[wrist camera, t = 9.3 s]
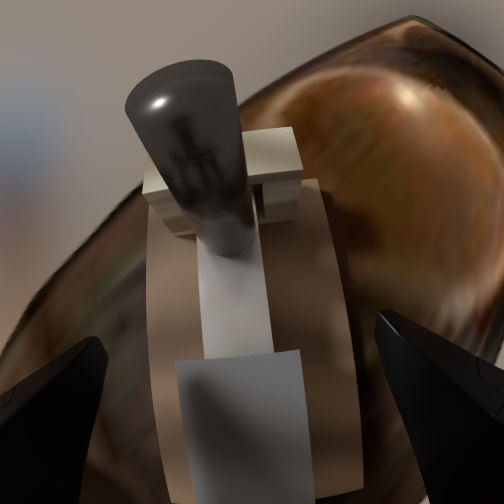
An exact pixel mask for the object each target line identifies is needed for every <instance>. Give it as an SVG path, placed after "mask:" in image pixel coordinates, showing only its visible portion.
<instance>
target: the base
mask: <svg viewBox="0 0 504 504" xmlns="http://www.w3.org/2000/svg"><path fill="white" fill-rule="evenodd" d="M242 137H243V144H244V150H245V157H246V163H247V170H248V176H249V183H250V185H253V192H254V200H255V207H256V215H257V222H258V230H259V237H260V245H261V253H262V261H263V268H264V276H265V284H266V292H267V300H268V308H269V316H270V324H271V332H272V340H273V348H274V353H269V354H261V355H252V356H242V357H231V358H219V359H204V348H203V336H202V324H201V310H200V295H199V278H198V257H197V235H196V234H195V232H194V230H193V229H192V227H191V225H190V224H189V222H188V221H187V219H186V217H185V216H184V214H183V212H182V211H181V209H180V207H179V206H178V204H177V202H176V201H175V199H174V197H173V195H172V194H171V192H170V190H169V189H168V187H167V185H166V184H165V182H164V180H163V178H162V177H161V175H160V173H159V171H158V170H157V168H156V166H155V165H154V163H153V161H152V159H151V158H150V156H149V154H148V152H147V159H146V167H145V175H144V183H143V192H142V194H143V196H144V197H145V198H146V200H147V201H148V202H149V215H148V233H147V262H146V306H147V335H148V352H149V366H150V377H151V388H152V397H153V405H154V413H155V421H156V427H157V434H158V440H159V446H160V452H161V457H162V463H163V468H164V473H165V477H166V482H167V486H168V491H169V495H170V499H171V503H178V504H315V499H319V498H324V497H329V496H334V495H338V494H343V493H347V492H351V491H355V490H359V489H363V488H364V481H363V450H362V433H361V420H360V408H359V397H358V388H357V379H356V371H355V363H354V355H353V348H352V341H351V335H350V328H349V322H348V316H347V310H346V304H345V299H344V293H343V288H342V283H341V278H340V273H339V268H338V263H337V259H336V254H335V249H334V245H333V240H332V236H331V232H330V228H329V223H328V219H327V215H326V211H325V207H324V203H323V200H322V196H321V192H320V188H319V185H318V181H317V179H307V180H302V175H303V167H302V163H301V159H300V156H299V152H298V148H297V145H296V141H295V138H294V134H293V131H292V127H284V128H273V129H264V130H256V131H248V132H242Z"/></svg>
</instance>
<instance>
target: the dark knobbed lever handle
mask: <svg viewBox="0 0 504 504" xmlns="http://www.w3.org/2000/svg"><path fill="white" fill-rule="evenodd" d="M125 111H126V114H127V116H128V118H129V120H130V122H131V123H132V125H133V127H134V129H135V131H136V133H137V134H138V136H139V138H140V140H141V142H142V143H143V145H144V147H145V149H146V150H147V152H148V154H149V156H150V158H151V159H152V161H153V163H154V165H155V166H156V168H157V170H158V171H159V173H160V175H161V177H162V178H163V180H164V182H165V184H166V185H167V187H168V189H169V190H170V192H171V194H172V195H173V197H174V199H175V201H176V202H177V204H178V206H179V207H180V209H181V211H182V212H183V214H184V216H185V217H186V219H187V221H188V222H189V224H190V225H191V227H192V229H193V230H194V232H195V234H196V235H197V257H198V278H199V295H200V310H201V324H202V336H203V348H204V359H219V358H231V357H242V356H252V355H261V354H269V353H274V348H273V340H272V332H271V324H270V316H269V308H268V300H267V292H266V284H265V276H264V268H263V261H262V253H261V245H260V237H259V230H258V222H257V215H256V207H255V200H254V192H253V185H250V183H249V176H248V170H247V163H246V157H245V150H244V144H243V137H242V131H241V124H240V118H239V111H238V105H237V99H236V92H235V86H234V80H233V75H232V72H231V71H230V69H229V68H228V67H226V66H225V65H223V64H221V63H219V62H216V61H211V60H188V61H183V62H178V63H175V64H172V65H169V66H166V67H164V68H162V69H159V70H157V71H155V72H154V73H152V74H150V75H149V76H147V77H146V78H144V79H143V80H142V81H141V82H140V83H139V84H137V85H136V86H135V88H134V89H133V90H132V91H131V93H130V94H129V96H128V98H127V100H126V104H125Z"/></svg>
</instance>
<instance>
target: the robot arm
mask: <svg viewBox="0 0 504 504" xmlns="http://www.w3.org/2000/svg"><path fill="white" fill-rule="evenodd" d="M374 337H375V341H376V345H377V348H378V351H379V355H380V358H381V362H382V365H383V369H384V372H385V375H386V379H387V381H388V384H389V387H390V389H391V391H392V394H393V396H394V399H395V402H396V404H397V407H398V409H399V412H400V414H401V417H402V420H403V422H404V425H405V428H406V430H407V433H408V436H409V439H410V442H411V445H412V447H413V450H414V453H415V456H416V459H417V462H418V465H419V468H420V472H421V475H422V478H423V481H424V484H425V488H426V492H427V495H428V499H429V502H430V504H504V370H502V369H500V368H498V367H496V366H494V365H492V364H490V363H489V362H487V361H485V360H483V359H481V358H479V357H478V356H475V355H474V354H472V353H470V352H468V351H467V350H465V349H463V348H461V347H459V346H458V345H456V344H454V343H452V342H450V341H448V340H447V339H445V338H443V337H441V336H439V335H437V334H436V333H434V332H432V331H430V330H428V329H426V328H425V327H423V326H421V325H419V324H417V323H415V322H413V321H412V320H410V319H408V318H406V317H404V316H402V315H400V314H398V313H397V312H395V311H393V310H390V309H389V310H383V311H379V312H378V314H377V318H376V325H375V331H374ZM107 365H108V355H107V353H106V351H105V349H104V347H103V345H102V343H101V341H100V339H99V338H98V337H96V336H88V337H85V338H84V339H82V340H81V341H79V342H78V343H76V344H75V345H73V346H72V347H70V348H69V349H67V350H66V351H64V352H63V353H62V354H60V355H59V356H57V357H56V358H54V359H53V360H51V361H50V362H48V363H47V364H45V365H44V366H42V367H41V368H39V369H38V370H36V371H35V372H34V373H32V374H31V375H29V376H28V377H26V378H25V379H23V380H22V381H20V382H19V383H18V384H16V386H13V387H12V388H10V389H9V390H7V391H6V392H4V393H3V394H2V395H0V504H79V498H80V497H79V496H80V490H81V484H82V478H83V473H84V468H85V463H86V458H87V453H88V448H89V444H90V439H91V435H92V431H93V427H94V423H95V419H96V415H97V411H98V408H99V404H100V400H101V396H102V391H103V385H104V380H105V375H106V370H107Z"/></svg>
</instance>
